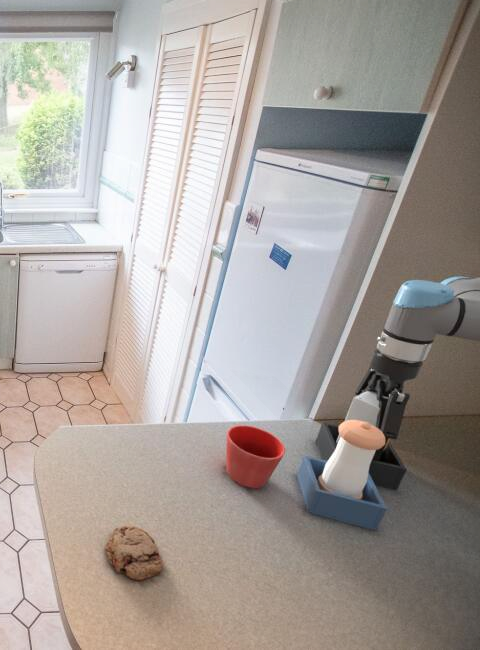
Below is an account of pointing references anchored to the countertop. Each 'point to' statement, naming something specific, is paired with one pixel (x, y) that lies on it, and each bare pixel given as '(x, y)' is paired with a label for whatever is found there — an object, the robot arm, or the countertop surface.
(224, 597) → the countertop surface
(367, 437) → the pepper shaker
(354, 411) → the small box
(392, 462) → the charcoal bin
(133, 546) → the cookie
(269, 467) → the flower pot
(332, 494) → the blue bin
